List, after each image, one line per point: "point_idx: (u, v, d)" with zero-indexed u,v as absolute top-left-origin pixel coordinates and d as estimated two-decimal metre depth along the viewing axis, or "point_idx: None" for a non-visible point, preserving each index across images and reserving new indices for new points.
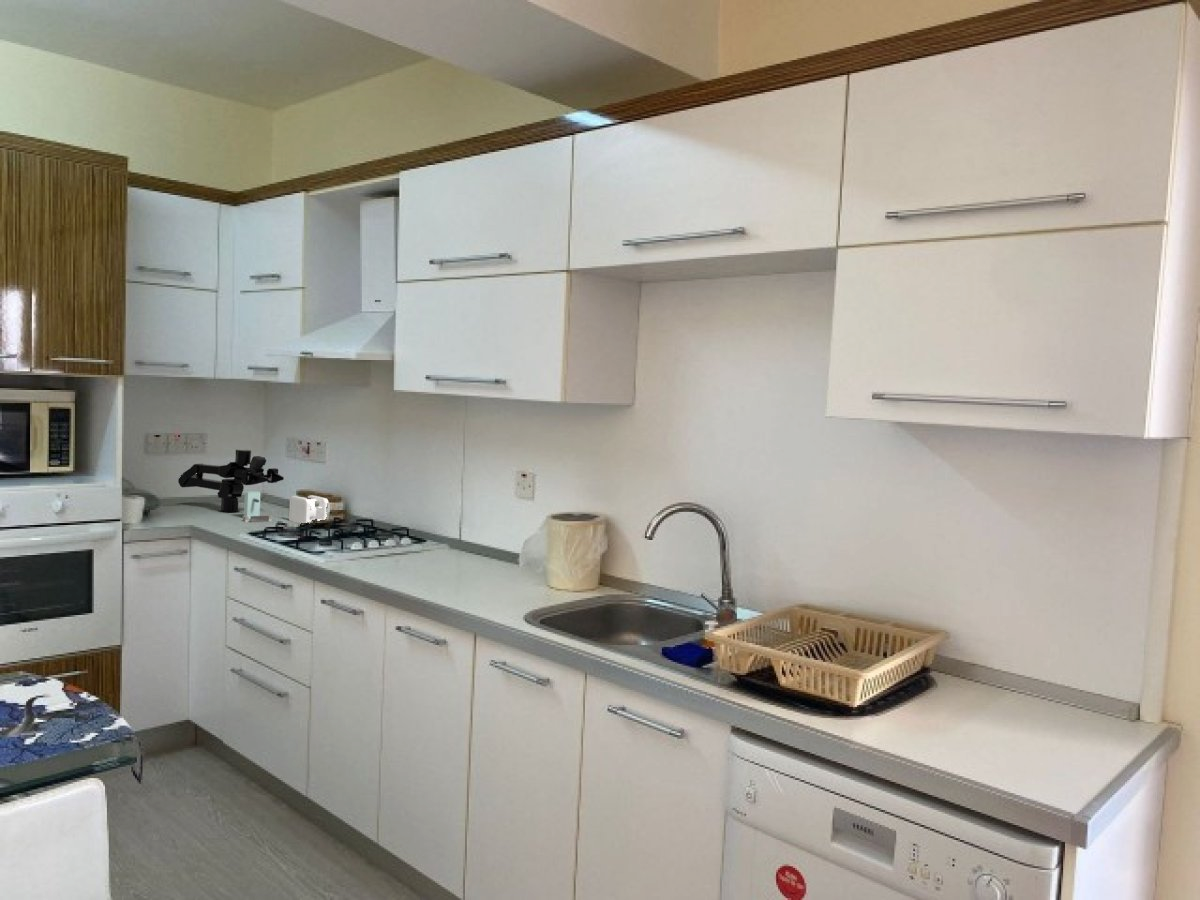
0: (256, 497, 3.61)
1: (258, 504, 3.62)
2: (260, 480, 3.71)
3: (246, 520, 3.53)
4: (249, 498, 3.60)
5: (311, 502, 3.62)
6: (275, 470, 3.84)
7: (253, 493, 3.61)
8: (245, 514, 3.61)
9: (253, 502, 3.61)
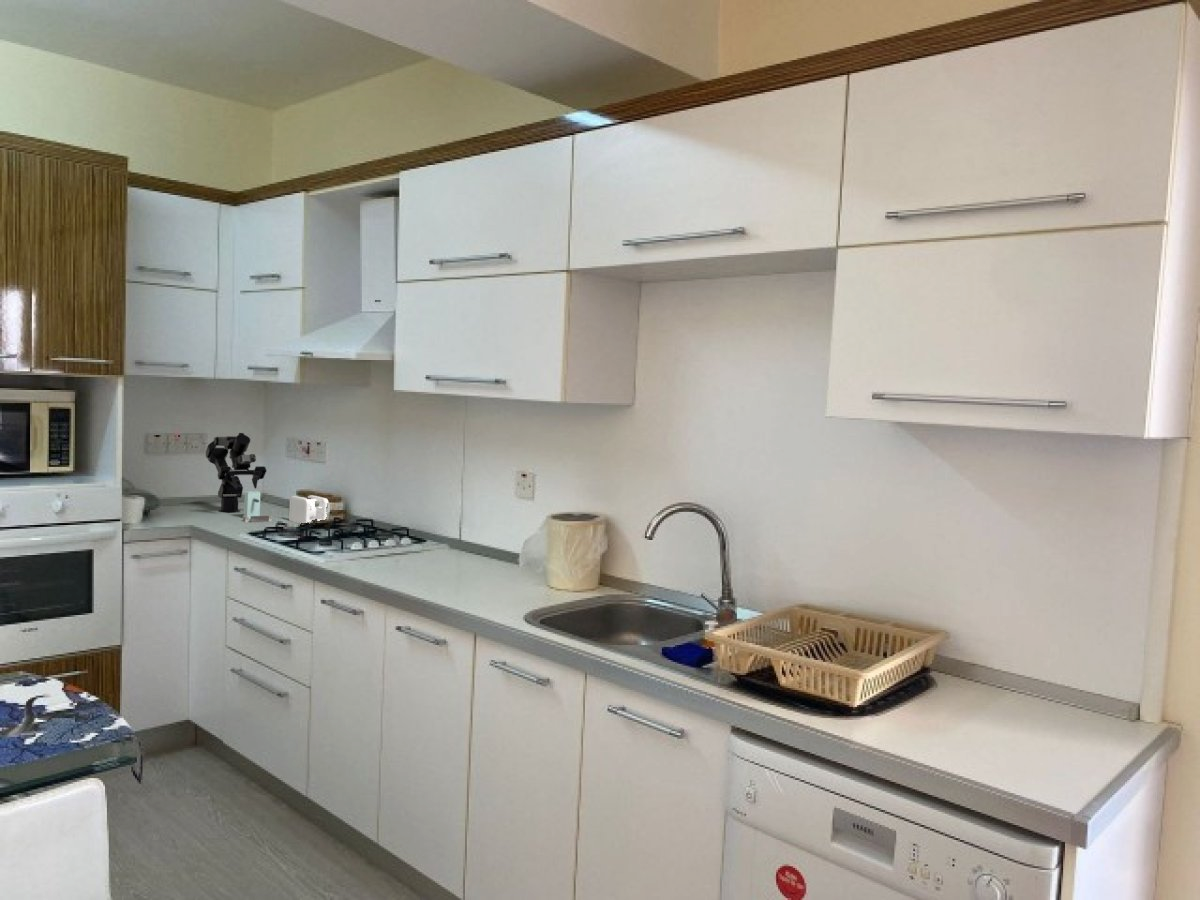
0: (256, 497, 3.61)
1: (258, 504, 3.62)
2: (232, 483, 3.68)
3: (246, 520, 3.53)
4: (249, 498, 3.60)
5: (311, 502, 3.62)
6: (258, 472, 3.74)
7: (253, 493, 3.61)
8: (245, 514, 3.61)
9: (253, 502, 3.61)
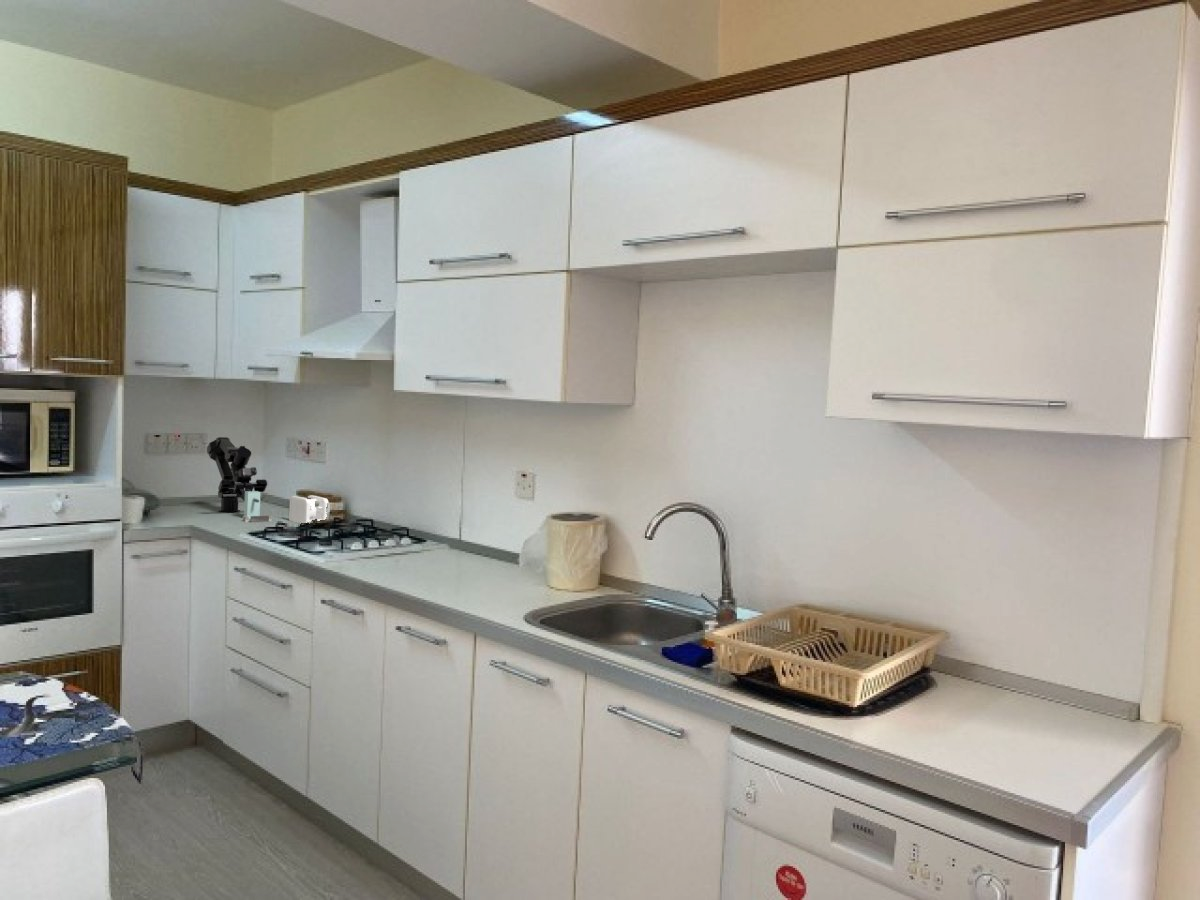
0: (256, 497, 3.61)
1: (258, 504, 3.62)
2: (242, 497, 3.69)
3: (246, 520, 3.53)
4: (249, 498, 3.60)
5: (311, 502, 3.62)
6: (250, 485, 3.71)
7: (253, 493, 3.61)
8: (245, 514, 3.61)
9: (253, 502, 3.61)
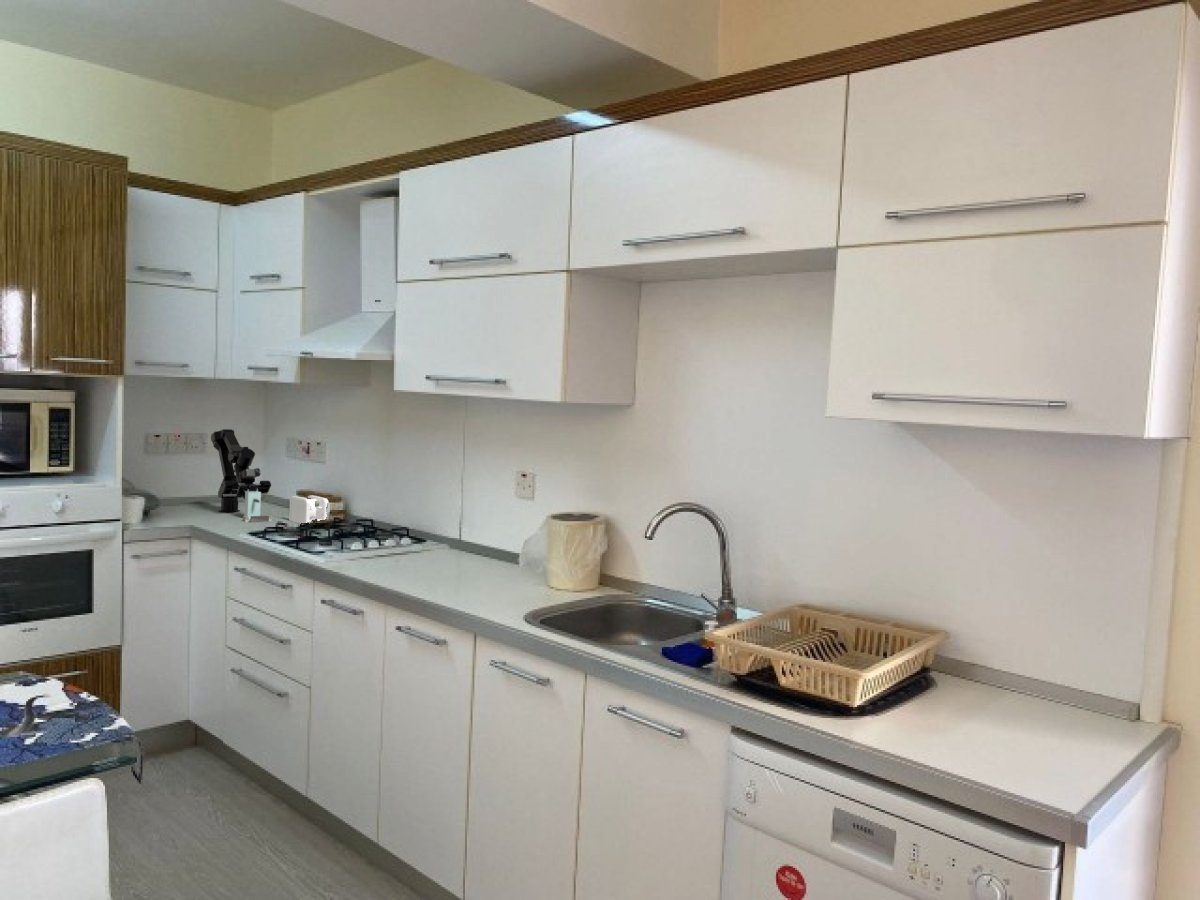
0: (256, 497, 3.61)
1: (258, 504, 3.62)
2: None
3: (246, 520, 3.53)
4: (249, 498, 3.59)
5: (311, 502, 3.62)
6: (254, 487, 3.67)
7: (253, 493, 3.60)
8: (245, 514, 3.61)
9: (253, 502, 3.60)
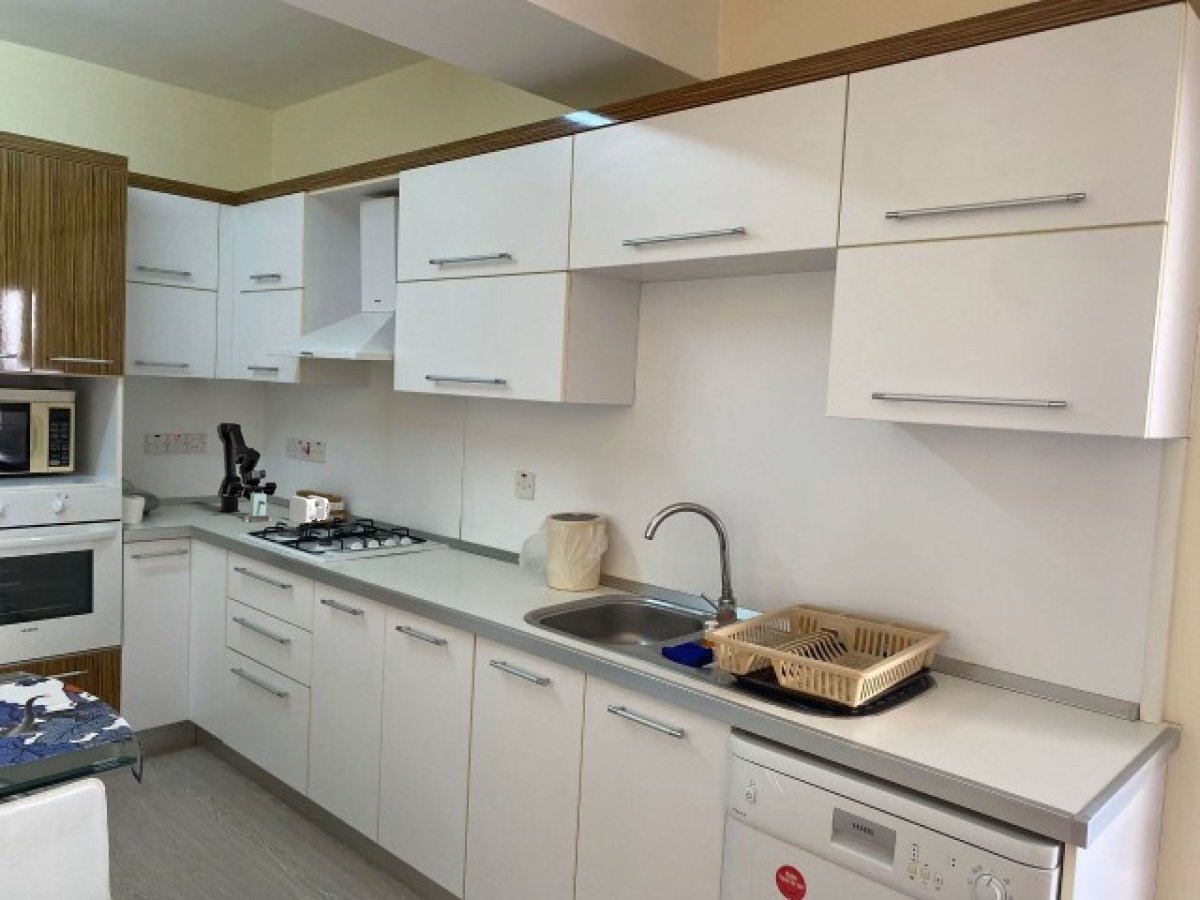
0: (262, 499, 3.56)
1: (264, 506, 3.57)
2: None
3: (246, 520, 3.53)
4: (255, 500, 3.54)
5: (311, 502, 3.62)
6: (259, 488, 3.62)
7: (259, 495, 3.55)
8: None
9: (259, 504, 3.55)
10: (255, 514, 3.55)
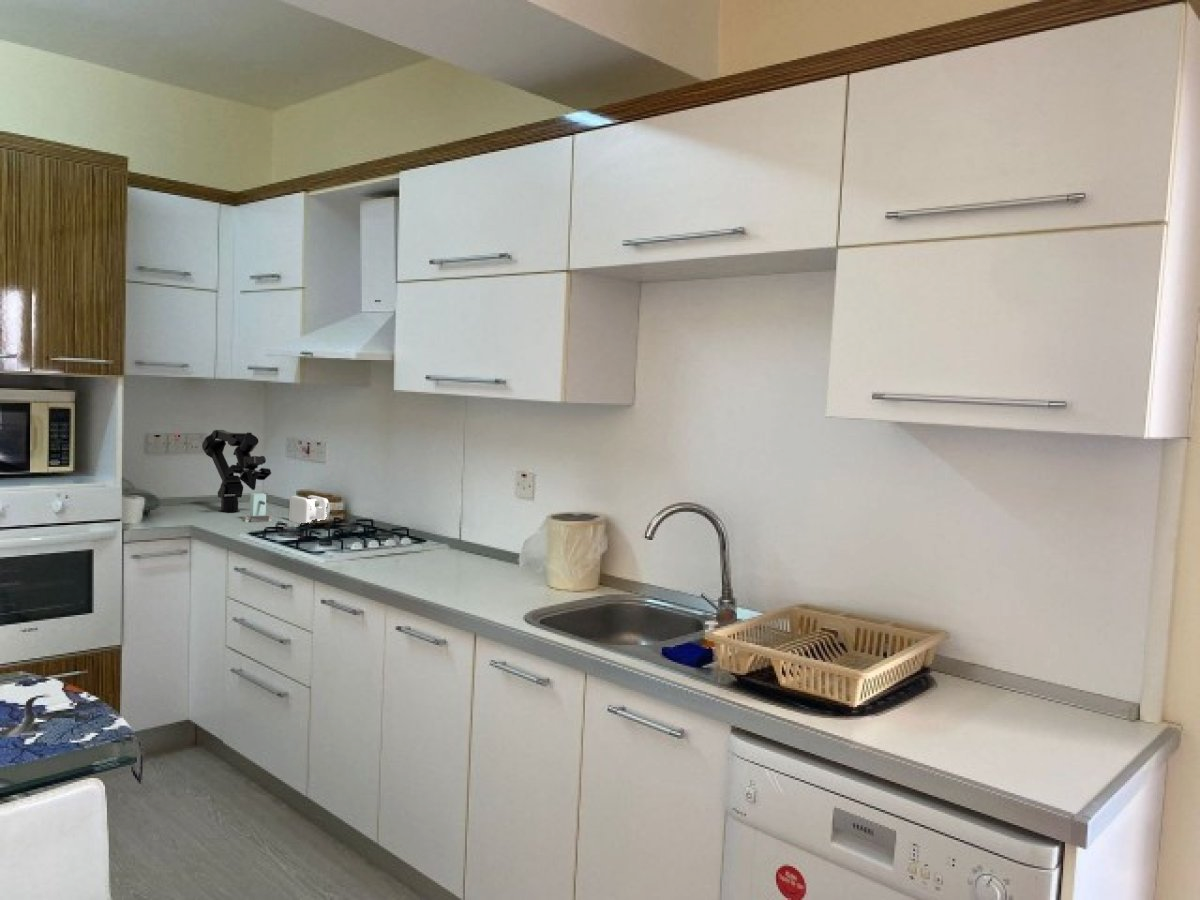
0: (262, 499, 3.56)
1: (264, 506, 3.57)
2: (248, 484, 3.71)
3: (246, 520, 3.53)
4: (255, 500, 3.54)
5: (311, 502, 3.62)
6: (257, 473, 3.73)
7: (259, 495, 3.55)
8: None
9: (259, 504, 3.55)
10: (255, 514, 3.55)
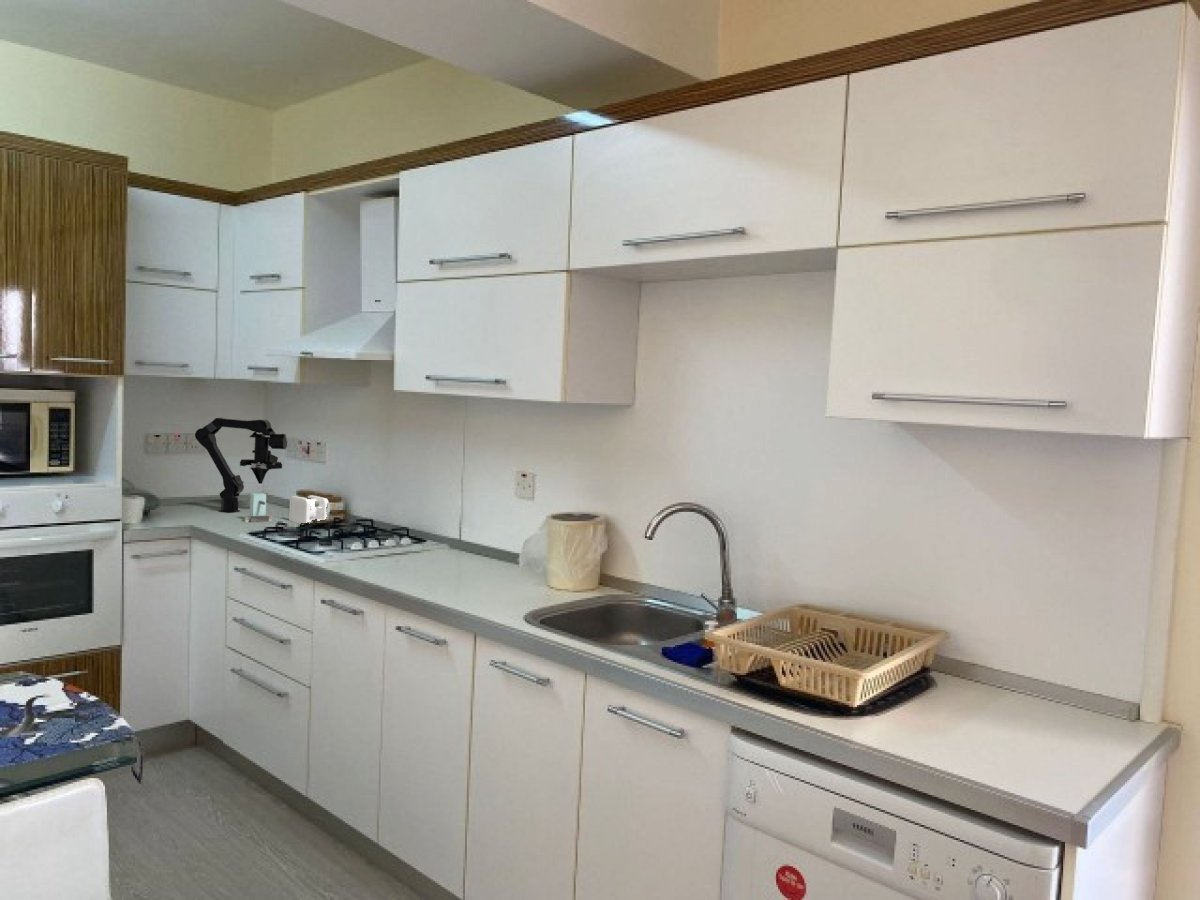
0: (262, 499, 3.56)
1: (264, 506, 3.57)
2: (261, 477, 3.85)
3: (246, 520, 3.53)
4: (255, 500, 3.54)
5: (311, 502, 3.62)
6: None
7: (259, 495, 3.55)
8: None
9: (259, 504, 3.55)
10: (255, 514, 3.55)
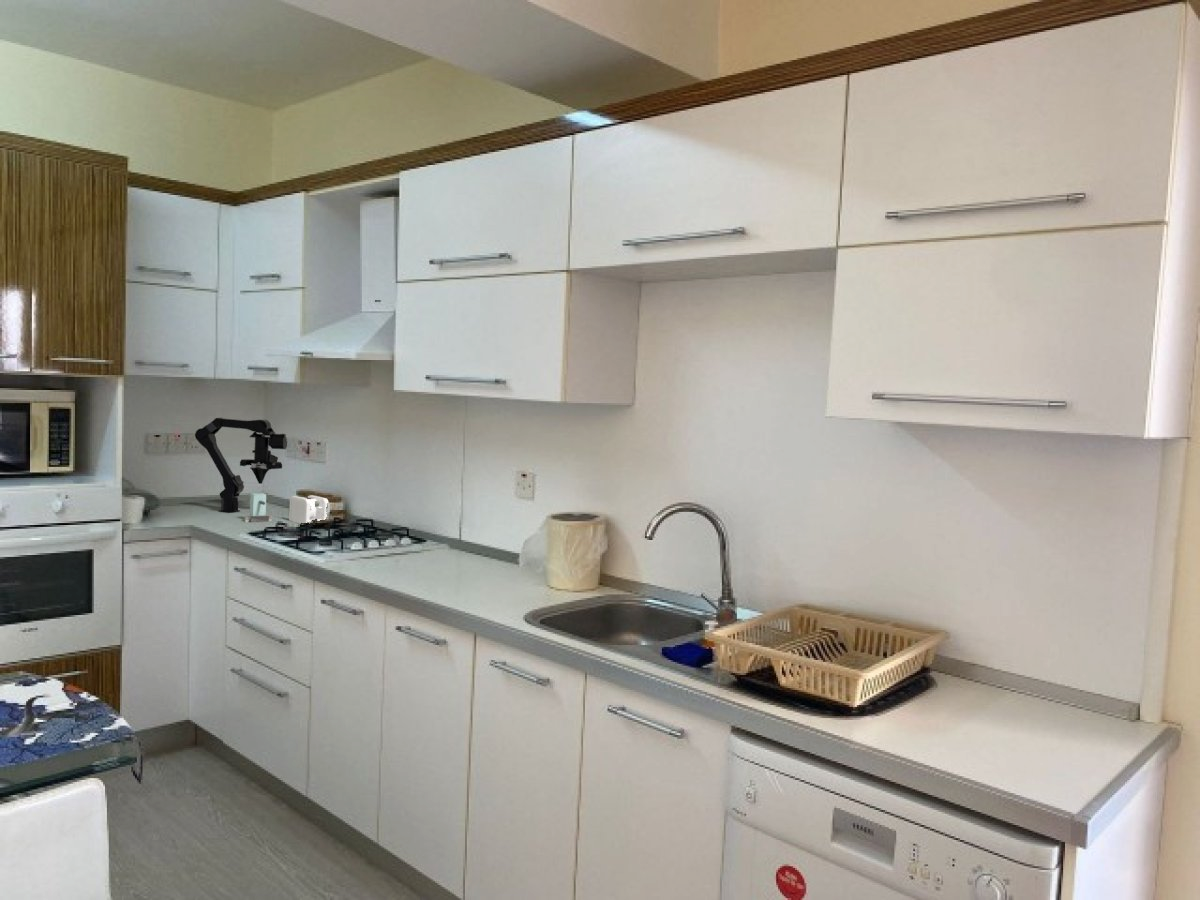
0: (262, 499, 3.56)
1: (264, 506, 3.57)
2: (261, 477, 3.85)
3: (246, 520, 3.53)
4: (255, 500, 3.54)
5: (311, 502, 3.62)
6: None
7: (259, 495, 3.55)
8: None
9: (259, 504, 3.55)
10: (255, 514, 3.55)
